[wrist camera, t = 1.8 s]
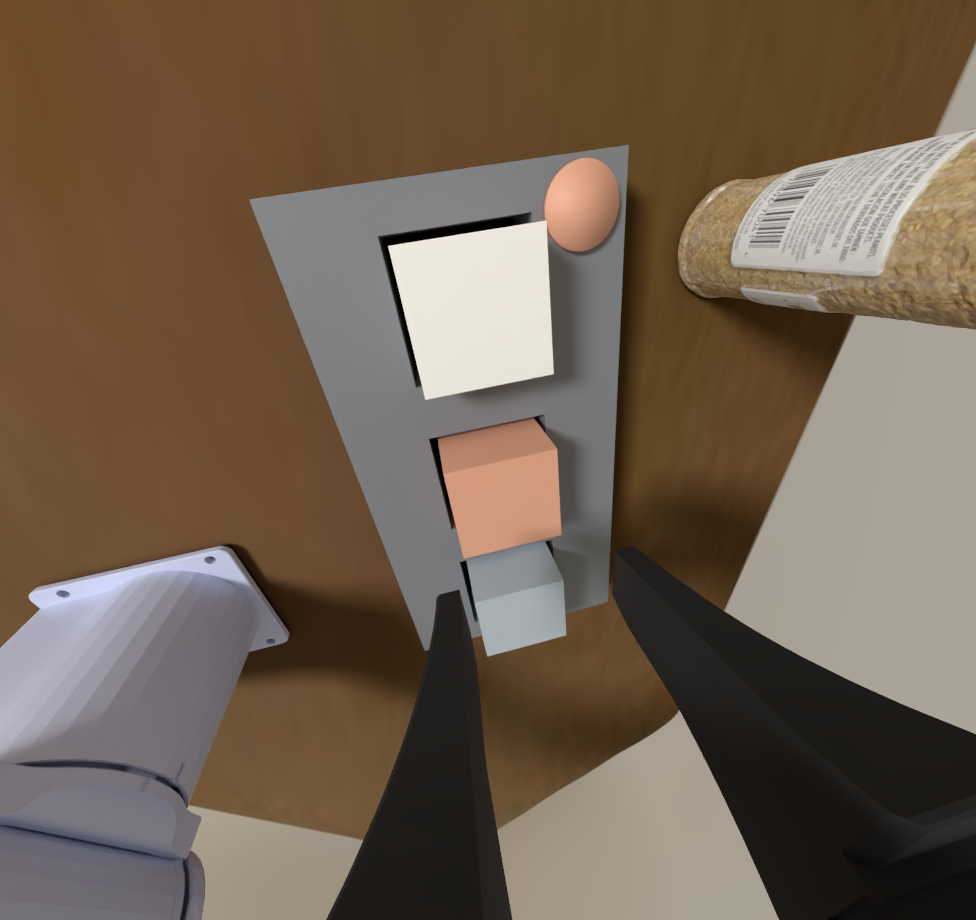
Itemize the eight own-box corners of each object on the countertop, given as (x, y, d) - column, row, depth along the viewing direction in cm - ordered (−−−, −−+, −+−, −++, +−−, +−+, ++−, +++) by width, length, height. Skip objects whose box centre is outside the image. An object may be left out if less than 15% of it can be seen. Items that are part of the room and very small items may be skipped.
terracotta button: (455, 512, 19) (463, 558, 16) (437, 435, 17) (443, 474, 14) (538, 492, 19) (561, 534, 17) (531, 415, 17) (557, 448, 14)
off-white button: (421, 371, 15) (425, 400, 12) (392, 247, 13) (388, 246, 10) (526, 351, 16) (553, 374, 13) (516, 227, 13) (546, 220, 10)
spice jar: (700, 317, 18) (1211, 432, 7) (654, 242, 16) (1287, 219, 4) (781, 239, 17) (1568, 215, 5) (744, 148, 15) (1889, -204, 3)
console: (423, 616, 25) (424, 655, 22) (274, 208, 13) (245, 198, 11) (591, 573, 26) (610, 605, 24) (595, 161, 14) (633, 142, 12)
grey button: (477, 605, 23) (487, 656, 20) (464, 553, 21) (474, 603, 18) (546, 587, 23) (566, 635, 20) (541, 534, 21) (563, 580, 18)
